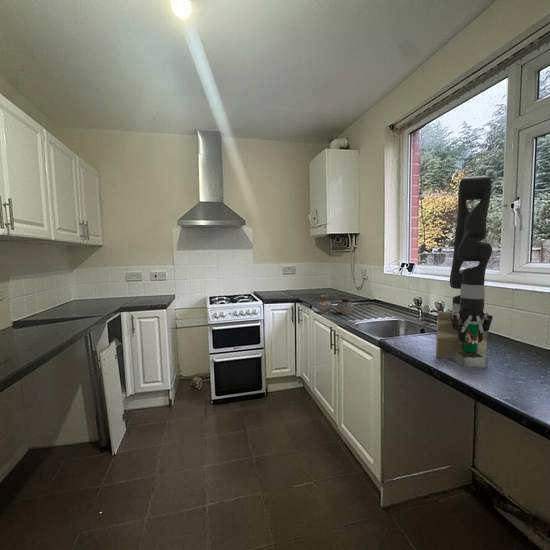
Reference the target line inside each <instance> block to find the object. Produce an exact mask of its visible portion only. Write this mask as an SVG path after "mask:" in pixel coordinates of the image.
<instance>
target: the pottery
mask: <svg viewBox="0 0 550 550" xmlns="http://www.w3.org/2000/svg"><path fill="white" fill-rule="evenodd" d="M328 298H329V295H325V294H324V295H320V299H321V300H319V302H317V303H316V306H317V309H318V311H320V312H319V313H320V314H321V315H327V314H329V311H330V310H331V308H332V305H333V304H332V303H331V302H330V301H329V299H328ZM340 300H341V302H339V303H337V308H338V310H339V311H340V313H341V315H345V316H349V315H351V313H352V312H354V309H355V304H354V303H353V302H351V301H352V298H351V297H341V299H340Z"/></svg>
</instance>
